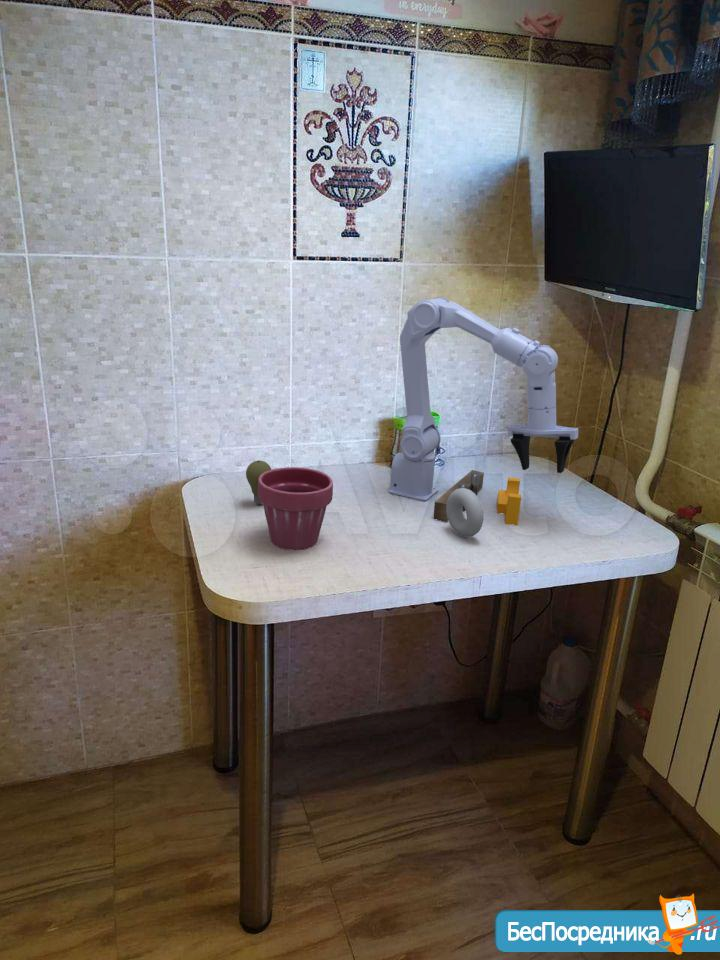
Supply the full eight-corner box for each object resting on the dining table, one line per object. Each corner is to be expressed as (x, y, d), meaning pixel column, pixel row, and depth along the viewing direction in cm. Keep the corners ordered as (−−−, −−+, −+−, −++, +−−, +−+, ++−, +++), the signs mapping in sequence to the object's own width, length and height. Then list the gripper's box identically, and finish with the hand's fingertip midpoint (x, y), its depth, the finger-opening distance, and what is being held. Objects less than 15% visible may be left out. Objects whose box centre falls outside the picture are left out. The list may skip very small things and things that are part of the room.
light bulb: (244, 500, 156) (243, 457, 153) (269, 498, 158) (269, 456, 155) (248, 510, 151) (248, 466, 148) (274, 508, 153) (274, 464, 150)
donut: (440, 527, 148) (444, 482, 144) (453, 524, 150) (458, 480, 146) (471, 546, 140) (476, 499, 136) (484, 543, 142) (490, 496, 138)
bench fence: (433, 518, 152) (435, 492, 150) (470, 485, 172) (472, 462, 170) (452, 523, 150) (454, 497, 148) (487, 489, 170) (490, 465, 168)
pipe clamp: (496, 503, 163) (500, 476, 161) (516, 505, 162) (519, 478, 160) (496, 523, 152) (500, 495, 149) (517, 525, 151) (521, 497, 149)
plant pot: (345, 540, 140) (348, 479, 135) (295, 564, 129) (296, 498, 125) (294, 519, 148) (295, 461, 144) (242, 539, 138) (241, 477, 133)
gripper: (583, 403, 145) (583, 467, 149) (516, 401, 154) (518, 462, 157) (571, 410, 140) (571, 477, 144) (502, 408, 148) (504, 471, 152)
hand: (542, 470), depth 150 cm, fingers open, 7 cm apart
